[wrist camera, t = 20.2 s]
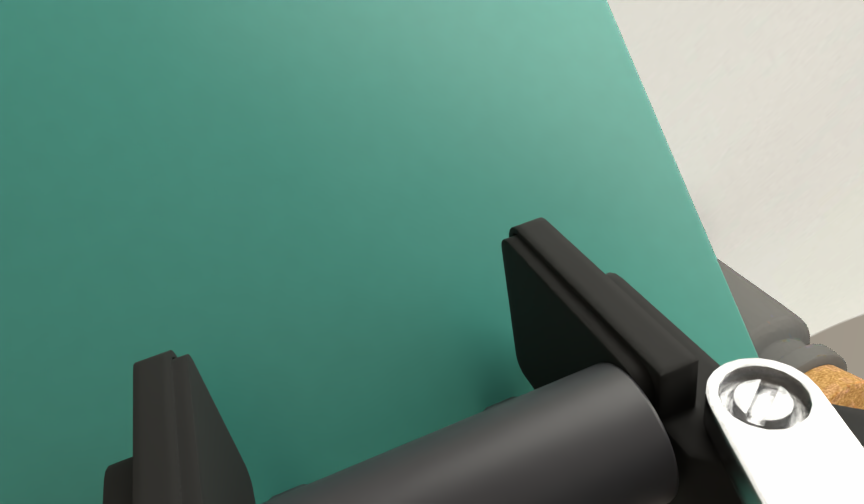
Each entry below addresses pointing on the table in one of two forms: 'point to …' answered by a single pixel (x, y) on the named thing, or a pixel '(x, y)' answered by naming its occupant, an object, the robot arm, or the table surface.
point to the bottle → (792, 342)
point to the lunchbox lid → (333, 242)
